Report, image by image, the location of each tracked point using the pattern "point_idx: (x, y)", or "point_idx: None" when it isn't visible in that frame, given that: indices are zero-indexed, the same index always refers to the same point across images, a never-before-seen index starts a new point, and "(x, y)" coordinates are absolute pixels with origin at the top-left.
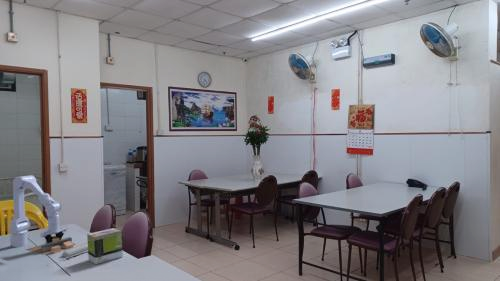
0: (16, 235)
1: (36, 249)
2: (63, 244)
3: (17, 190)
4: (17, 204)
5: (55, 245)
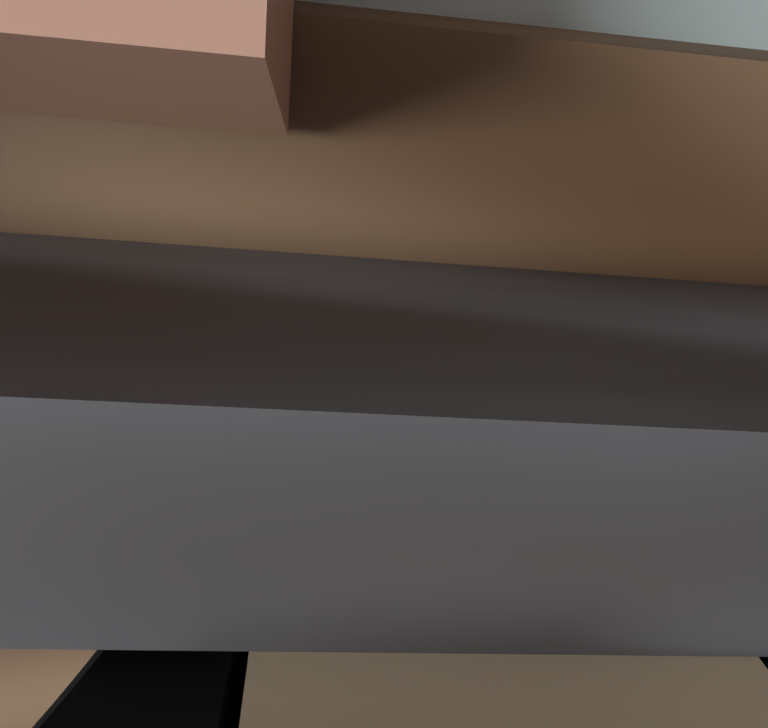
0: None
1: None
2: (274, 36)
3: None
4: None
5: (659, 339)
